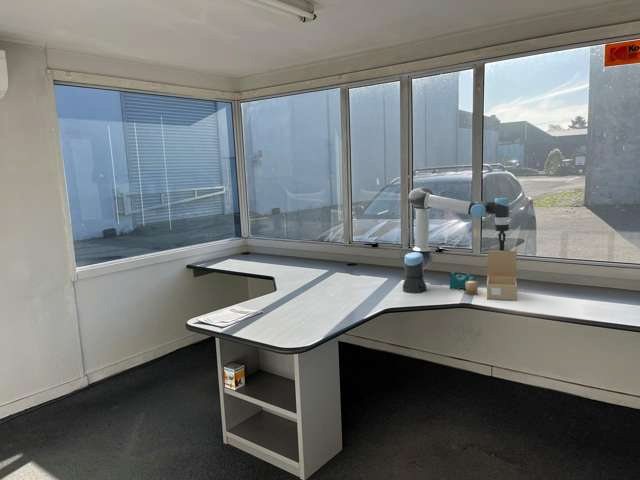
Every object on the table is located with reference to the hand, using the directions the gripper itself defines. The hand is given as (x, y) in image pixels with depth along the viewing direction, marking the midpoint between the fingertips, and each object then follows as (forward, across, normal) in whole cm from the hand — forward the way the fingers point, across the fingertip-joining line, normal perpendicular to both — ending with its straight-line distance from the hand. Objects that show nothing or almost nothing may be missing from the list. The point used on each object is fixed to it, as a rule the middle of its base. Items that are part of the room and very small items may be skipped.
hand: (501, 262), depth 271 cm
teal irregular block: (+19, +11, +24) cm, 32 cm away
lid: (0, -1, 0) cm, 1 cm away
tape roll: (+18, -5, +17) cm, 26 cm away
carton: (+18, -6, 0) cm, 19 cm away
